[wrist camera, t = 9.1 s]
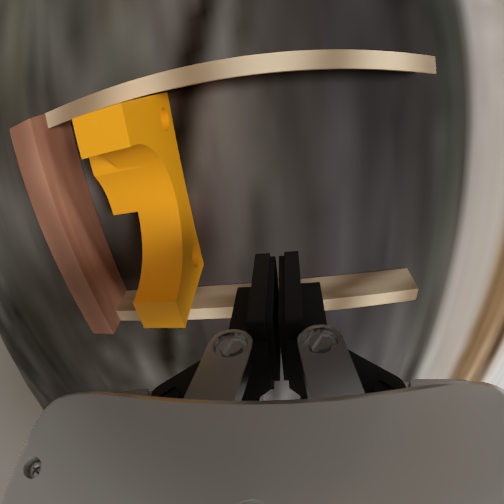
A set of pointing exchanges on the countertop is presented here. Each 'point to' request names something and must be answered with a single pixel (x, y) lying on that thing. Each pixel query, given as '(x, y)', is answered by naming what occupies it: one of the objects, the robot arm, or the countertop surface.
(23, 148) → the guide channel
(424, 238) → the countertop surface
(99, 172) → the pipe clamp
